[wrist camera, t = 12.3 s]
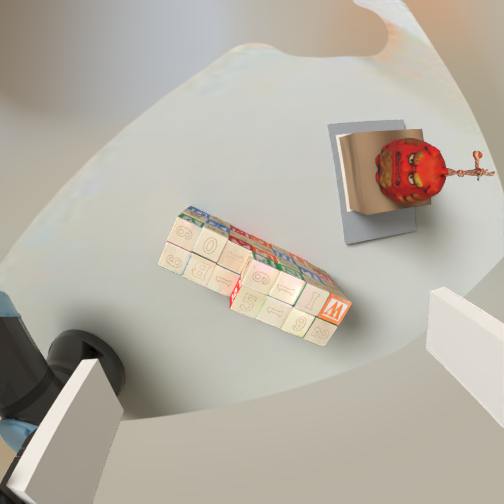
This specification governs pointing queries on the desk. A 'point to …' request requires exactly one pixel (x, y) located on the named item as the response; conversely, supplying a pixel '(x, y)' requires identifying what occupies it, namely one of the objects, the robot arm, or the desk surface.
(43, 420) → the robot arm
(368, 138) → the plinth
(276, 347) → the desk surface
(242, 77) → the desk surface
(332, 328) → the stack of blocks
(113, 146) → the desk surface
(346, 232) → the board
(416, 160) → the red clay folk toy
